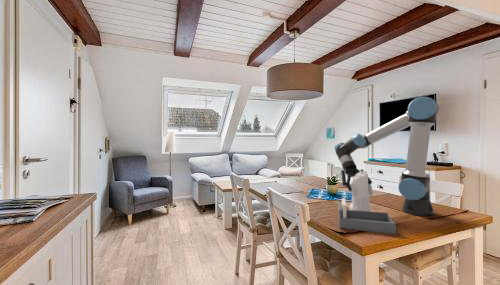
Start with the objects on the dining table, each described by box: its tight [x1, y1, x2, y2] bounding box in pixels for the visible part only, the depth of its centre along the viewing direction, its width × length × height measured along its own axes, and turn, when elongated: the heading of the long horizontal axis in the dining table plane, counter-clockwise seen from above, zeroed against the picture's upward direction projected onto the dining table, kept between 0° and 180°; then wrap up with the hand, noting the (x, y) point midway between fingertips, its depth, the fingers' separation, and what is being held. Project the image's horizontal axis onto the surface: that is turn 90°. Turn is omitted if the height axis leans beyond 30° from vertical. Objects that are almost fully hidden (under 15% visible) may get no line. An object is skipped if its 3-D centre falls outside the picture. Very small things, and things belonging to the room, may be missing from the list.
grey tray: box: [337, 201, 397, 235], centre depth 117 cm, size 24×16×9 cm, turn 71°
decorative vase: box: [349, 170, 372, 212], centre depth 133 cm, size 11×11×25 cm
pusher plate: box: [341, 198, 347, 218], centre depth 120 cm, size 2×13×10 cm, turn 161°
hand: (363, 195), depth 130 cm, fingers open, 10 cm apart
